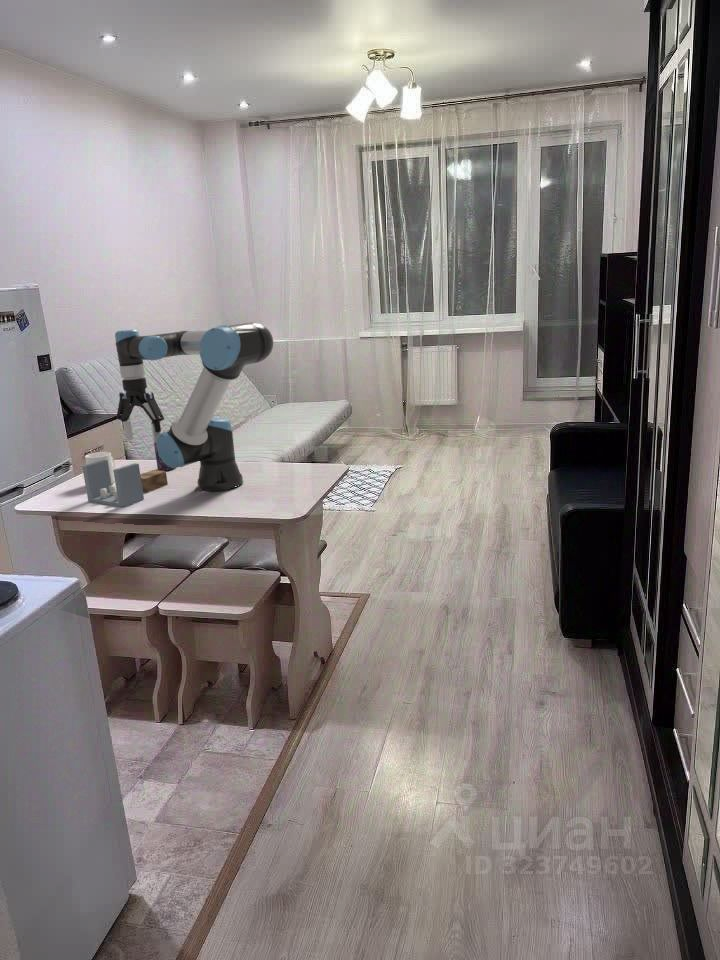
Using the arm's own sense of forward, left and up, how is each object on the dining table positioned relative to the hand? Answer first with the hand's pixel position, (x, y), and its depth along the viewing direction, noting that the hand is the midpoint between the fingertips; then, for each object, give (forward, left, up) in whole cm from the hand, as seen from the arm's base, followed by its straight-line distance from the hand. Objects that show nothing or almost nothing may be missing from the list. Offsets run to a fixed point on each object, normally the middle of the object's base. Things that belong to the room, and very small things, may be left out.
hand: (143, 440), depth 241 cm
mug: (+22, +1, -17) cm, 28 cm away
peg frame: (0, +15, -17) cm, 22 cm away
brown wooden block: (0, 0, -17) cm, 17 cm away
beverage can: (+14, -21, -17) cm, 30 cm away
